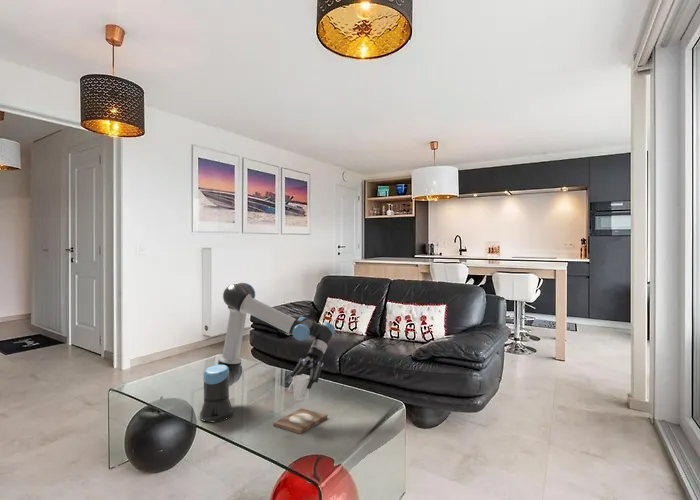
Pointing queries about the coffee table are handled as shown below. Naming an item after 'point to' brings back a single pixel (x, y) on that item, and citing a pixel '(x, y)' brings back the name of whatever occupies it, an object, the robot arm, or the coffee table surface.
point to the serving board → (300, 420)
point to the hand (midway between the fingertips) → (296, 393)
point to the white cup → (300, 387)
